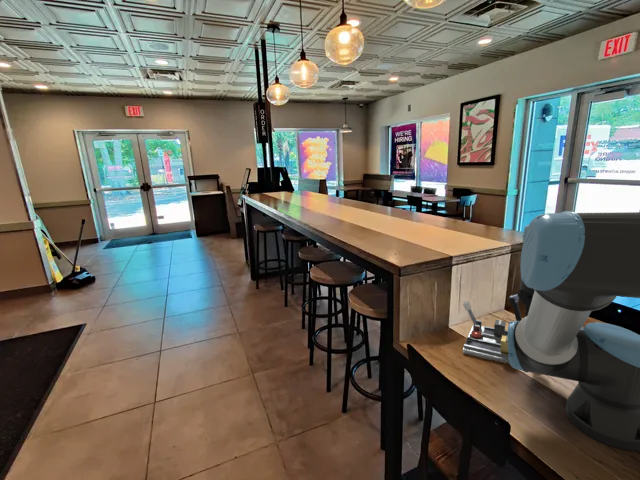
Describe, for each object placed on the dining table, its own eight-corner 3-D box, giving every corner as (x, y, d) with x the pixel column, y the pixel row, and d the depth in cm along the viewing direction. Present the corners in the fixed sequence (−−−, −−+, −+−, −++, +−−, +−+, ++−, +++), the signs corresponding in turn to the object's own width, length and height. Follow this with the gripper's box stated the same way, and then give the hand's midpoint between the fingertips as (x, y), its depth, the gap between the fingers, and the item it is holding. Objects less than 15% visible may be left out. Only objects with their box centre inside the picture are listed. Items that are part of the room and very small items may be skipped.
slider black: (503, 337, 108) (504, 325, 107) (493, 335, 109) (494, 323, 108) (504, 333, 111) (505, 320, 109) (495, 331, 112) (495, 319, 111)
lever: (479, 329, 112) (467, 303, 113) (475, 330, 113) (462, 304, 114) (480, 326, 114) (468, 300, 114) (476, 327, 115) (464, 301, 115)
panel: (516, 366, 96) (517, 353, 95) (462, 352, 105) (463, 340, 103) (520, 337, 110) (521, 326, 109) (473, 328, 119) (473, 317, 118)
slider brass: (511, 355, 98) (512, 342, 97) (500, 353, 100) (501, 339, 99) (512, 349, 101) (513, 336, 100) (501, 347, 103) (502, 334, 102)
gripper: (564, 276, 90) (557, 349, 96) (511, 270, 98) (507, 338, 103) (565, 285, 84) (557, 363, 90) (508, 278, 92) (504, 350, 97)
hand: (530, 350), depth 96 cm, fingers closed
